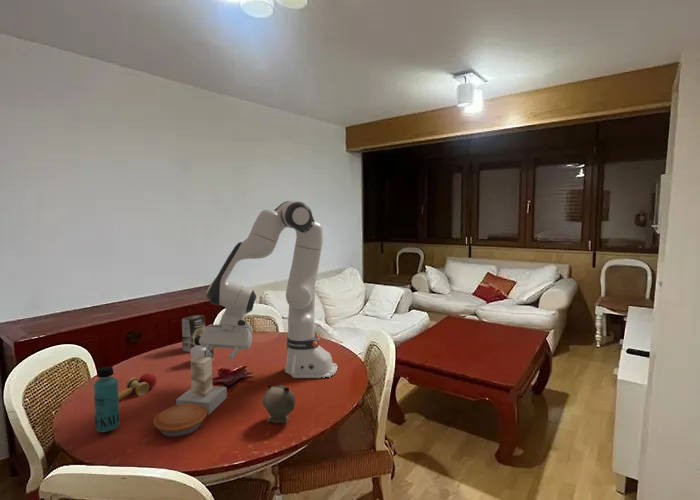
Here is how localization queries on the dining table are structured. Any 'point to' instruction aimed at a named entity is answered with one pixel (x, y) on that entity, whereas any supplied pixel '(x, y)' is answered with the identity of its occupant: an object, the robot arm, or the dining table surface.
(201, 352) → the medicine bottle
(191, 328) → the coffee box
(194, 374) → the ash block
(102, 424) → the beverage bottle
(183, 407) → the pie
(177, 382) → the dining table surface
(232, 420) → the dining table surface
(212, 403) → the grey base block
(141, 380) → the kendama
